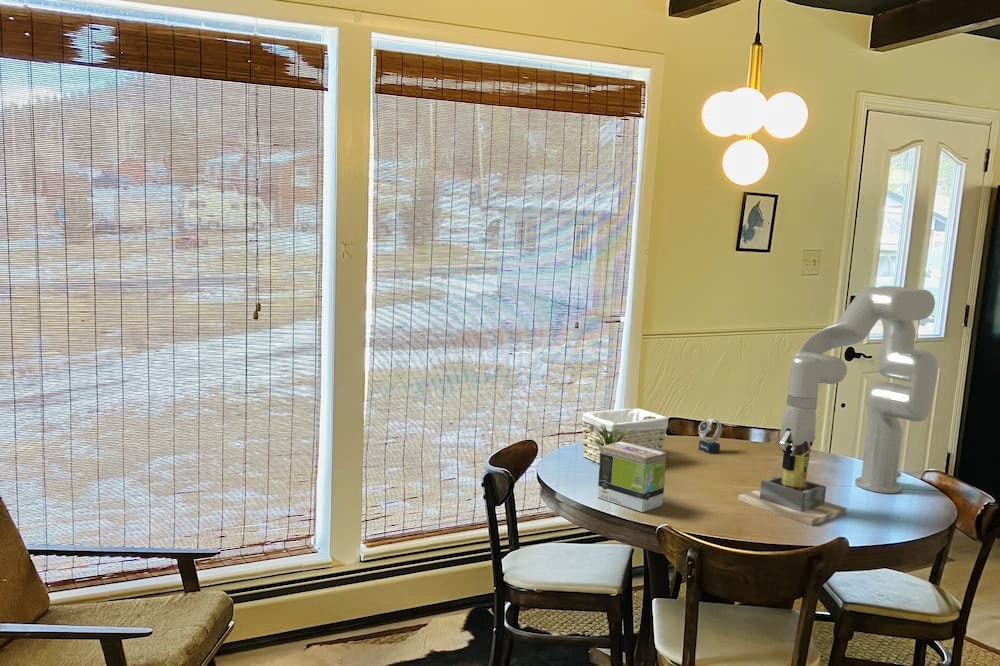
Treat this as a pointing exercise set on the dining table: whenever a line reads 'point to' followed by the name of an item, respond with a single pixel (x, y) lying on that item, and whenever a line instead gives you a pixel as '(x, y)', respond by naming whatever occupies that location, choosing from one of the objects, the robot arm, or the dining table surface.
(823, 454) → the dining table surface
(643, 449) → the tea box
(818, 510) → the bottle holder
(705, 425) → the watch
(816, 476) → the dining table surface
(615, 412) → the storage basket
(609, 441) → the house plant
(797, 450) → the sauce bottle
